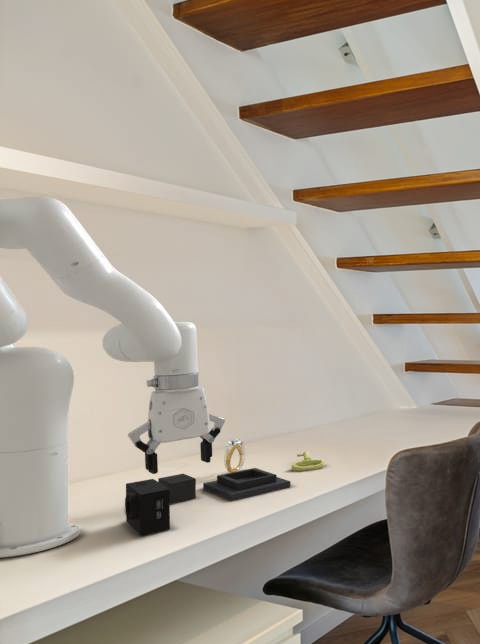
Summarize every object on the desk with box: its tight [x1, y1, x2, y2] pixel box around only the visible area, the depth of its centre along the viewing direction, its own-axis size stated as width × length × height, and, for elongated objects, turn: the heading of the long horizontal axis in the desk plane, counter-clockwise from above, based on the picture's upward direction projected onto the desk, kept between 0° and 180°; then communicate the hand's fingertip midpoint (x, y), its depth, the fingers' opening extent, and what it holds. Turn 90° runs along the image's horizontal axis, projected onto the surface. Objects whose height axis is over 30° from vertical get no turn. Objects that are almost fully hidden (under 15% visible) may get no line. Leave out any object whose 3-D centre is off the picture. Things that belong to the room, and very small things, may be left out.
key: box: [291, 450, 325, 472], centre depth 144 cm, size 7×12×2 cm, turn 43°
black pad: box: [157, 473, 197, 505], centre depth 119 cm, size 5×6×4 cm
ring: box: [223, 438, 246, 473], centre depth 138 cm, size 7×3×8 cm, turn 173°
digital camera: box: [124, 478, 171, 537], centre depth 102 cm, size 10×5×7 cm, turn 46°
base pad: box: [202, 467, 291, 502], centre depth 125 cm, size 12×14×3 cm
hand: (180, 466), depth 119 cm, fingers open, 9 cm apart
